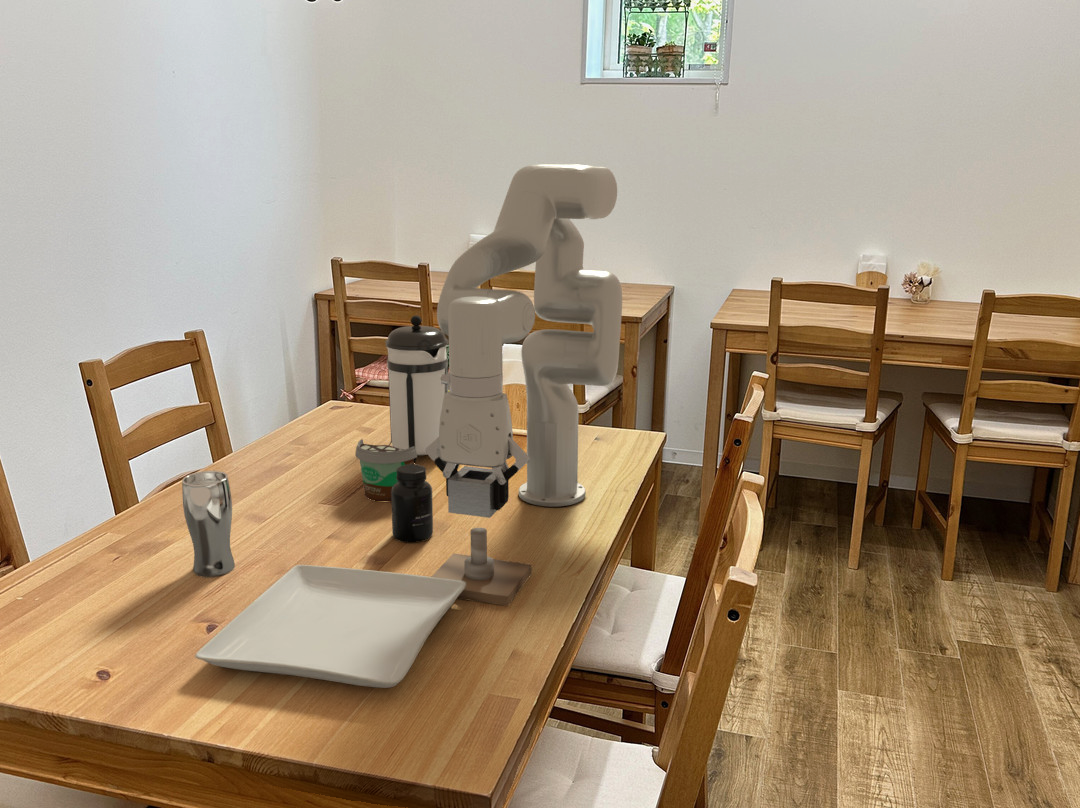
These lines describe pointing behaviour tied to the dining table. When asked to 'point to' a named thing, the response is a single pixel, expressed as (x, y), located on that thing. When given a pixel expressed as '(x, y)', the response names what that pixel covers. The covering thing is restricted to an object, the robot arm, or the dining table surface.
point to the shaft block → (485, 573)
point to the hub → (472, 492)
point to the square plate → (335, 625)
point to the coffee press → (416, 384)
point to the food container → (381, 468)
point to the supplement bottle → (412, 505)
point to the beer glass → (209, 521)
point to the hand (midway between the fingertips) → (477, 503)
